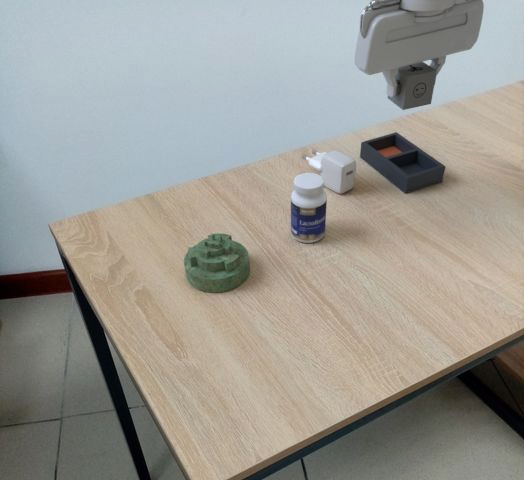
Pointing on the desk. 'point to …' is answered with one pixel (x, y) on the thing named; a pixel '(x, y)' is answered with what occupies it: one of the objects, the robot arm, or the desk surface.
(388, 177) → the compartment tray
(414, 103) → the dice cube
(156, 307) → the desk surface
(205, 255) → the decorative artifact
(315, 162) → the power adapter
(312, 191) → the pill bottle
